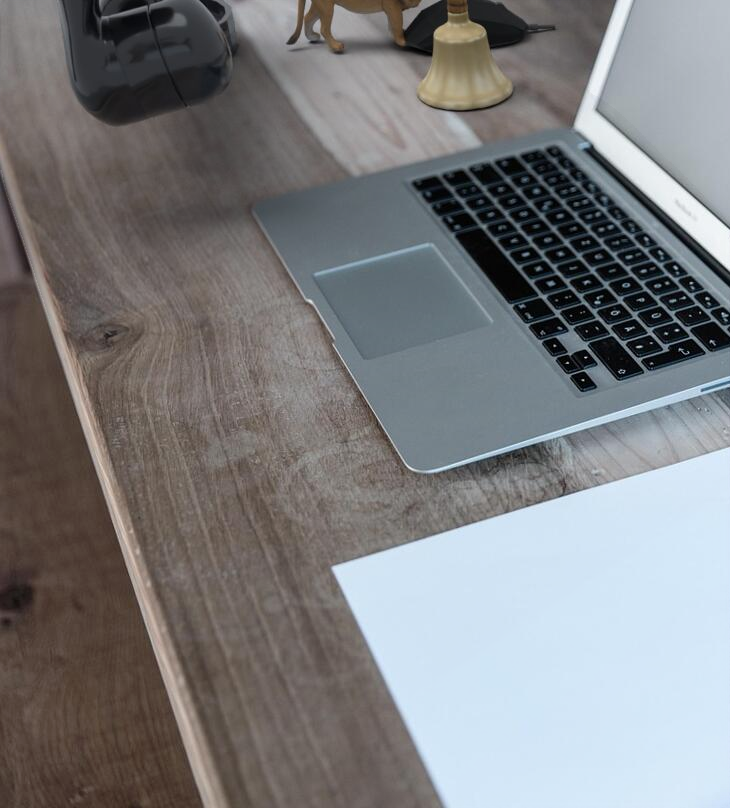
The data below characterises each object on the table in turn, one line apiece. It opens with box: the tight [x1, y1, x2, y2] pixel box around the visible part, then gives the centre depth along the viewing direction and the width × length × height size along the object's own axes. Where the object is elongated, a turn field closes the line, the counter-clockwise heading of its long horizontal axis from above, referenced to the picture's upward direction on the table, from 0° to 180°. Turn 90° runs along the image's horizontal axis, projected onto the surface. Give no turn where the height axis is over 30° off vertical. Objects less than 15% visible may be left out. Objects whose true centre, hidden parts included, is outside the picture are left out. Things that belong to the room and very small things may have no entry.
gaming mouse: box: [403, 0, 556, 54], centre depth 114 cm, size 6×15×4 cm, turn 111°
